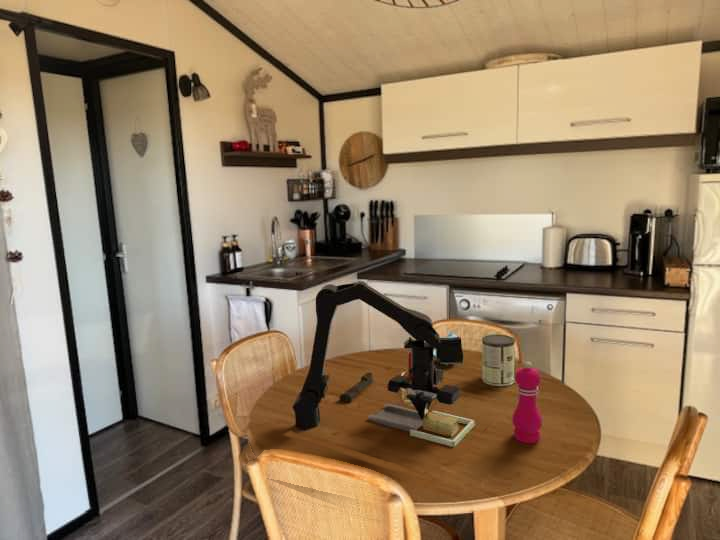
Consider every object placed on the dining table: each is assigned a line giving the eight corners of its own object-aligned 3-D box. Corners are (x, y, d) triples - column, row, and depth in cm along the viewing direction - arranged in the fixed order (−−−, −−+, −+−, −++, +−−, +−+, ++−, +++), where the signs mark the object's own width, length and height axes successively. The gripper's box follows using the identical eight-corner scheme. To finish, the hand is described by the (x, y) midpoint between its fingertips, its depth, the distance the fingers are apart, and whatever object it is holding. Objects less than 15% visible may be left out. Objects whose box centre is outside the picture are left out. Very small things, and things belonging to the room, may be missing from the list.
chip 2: (452, 439, 130) (452, 425, 130) (437, 435, 133) (437, 421, 132) (458, 433, 134) (458, 418, 133) (444, 429, 136) (444, 415, 135)
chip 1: (437, 435, 133) (437, 421, 132) (423, 432, 135) (423, 417, 134) (444, 429, 136) (443, 415, 135) (430, 425, 138) (430, 411, 137)
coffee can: (487, 372, 175) (487, 332, 173) (518, 377, 170) (518, 336, 167) (477, 383, 167) (477, 341, 164) (509, 388, 161) (509, 345, 159)
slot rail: (413, 436, 133) (413, 428, 133) (368, 424, 141) (367, 416, 141) (430, 421, 141) (430, 413, 141) (386, 410, 149) (386, 402, 149)
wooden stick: (350, 408, 152) (350, 393, 152) (339, 405, 154) (338, 390, 154) (380, 385, 169) (379, 372, 168) (369, 383, 171) (368, 370, 170)
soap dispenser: (457, 370, 178) (457, 345, 177) (428, 367, 182) (427, 343, 181) (467, 354, 195) (467, 331, 193) (440, 351, 199) (440, 329, 197)
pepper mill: (538, 447, 126) (539, 369, 123) (508, 440, 130) (509, 364, 126) (544, 434, 132) (546, 359, 129) (516, 428, 136) (517, 355, 132)
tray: (454, 451, 125) (453, 441, 125) (410, 439, 132) (410, 430, 132) (474, 429, 136) (474, 420, 136) (433, 419, 143) (433, 410, 142)
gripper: (468, 359, 136) (468, 415, 138) (405, 349, 146) (407, 401, 149) (450, 373, 126) (451, 432, 129) (385, 361, 137) (387, 416, 139)
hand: (423, 419), depth 137 cm, fingers closed
